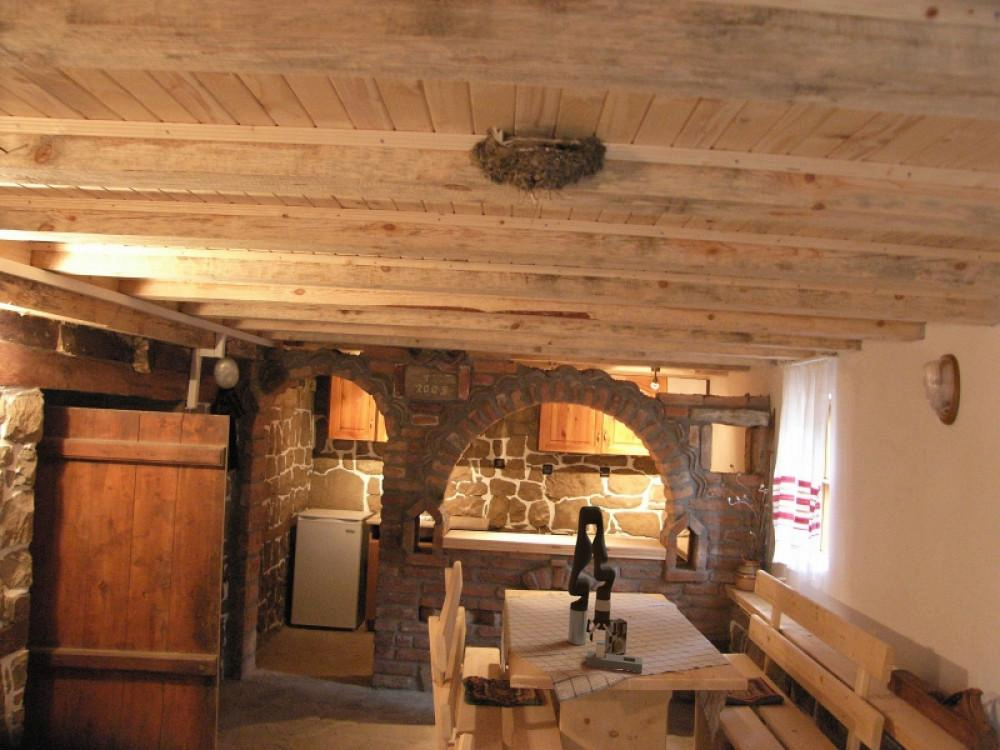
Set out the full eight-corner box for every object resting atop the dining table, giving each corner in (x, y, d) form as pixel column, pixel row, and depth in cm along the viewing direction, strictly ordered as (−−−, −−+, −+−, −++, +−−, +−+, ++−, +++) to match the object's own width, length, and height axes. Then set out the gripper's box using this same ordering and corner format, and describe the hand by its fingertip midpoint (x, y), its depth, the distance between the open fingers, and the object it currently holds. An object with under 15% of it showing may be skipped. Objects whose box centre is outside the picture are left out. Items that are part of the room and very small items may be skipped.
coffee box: (618, 649, 390) (620, 617, 390) (626, 653, 384) (628, 621, 385) (603, 651, 386) (605, 619, 386) (611, 655, 380) (613, 622, 381)
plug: (595, 662, 368) (596, 640, 368) (603, 663, 367) (605, 641, 368) (595, 665, 364) (596, 642, 364) (603, 666, 363) (604, 643, 364)
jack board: (587, 659, 371) (588, 651, 372) (641, 666, 367) (641, 657, 367) (586, 666, 362) (586, 657, 362) (641, 673, 357) (642, 664, 357)
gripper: (617, 608, 369) (615, 642, 368) (588, 605, 371) (586, 638, 371) (617, 612, 361) (615, 646, 361) (587, 608, 364) (585, 643, 363)
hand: (600, 642), depth 366 cm, fingers open, 8 cm apart
